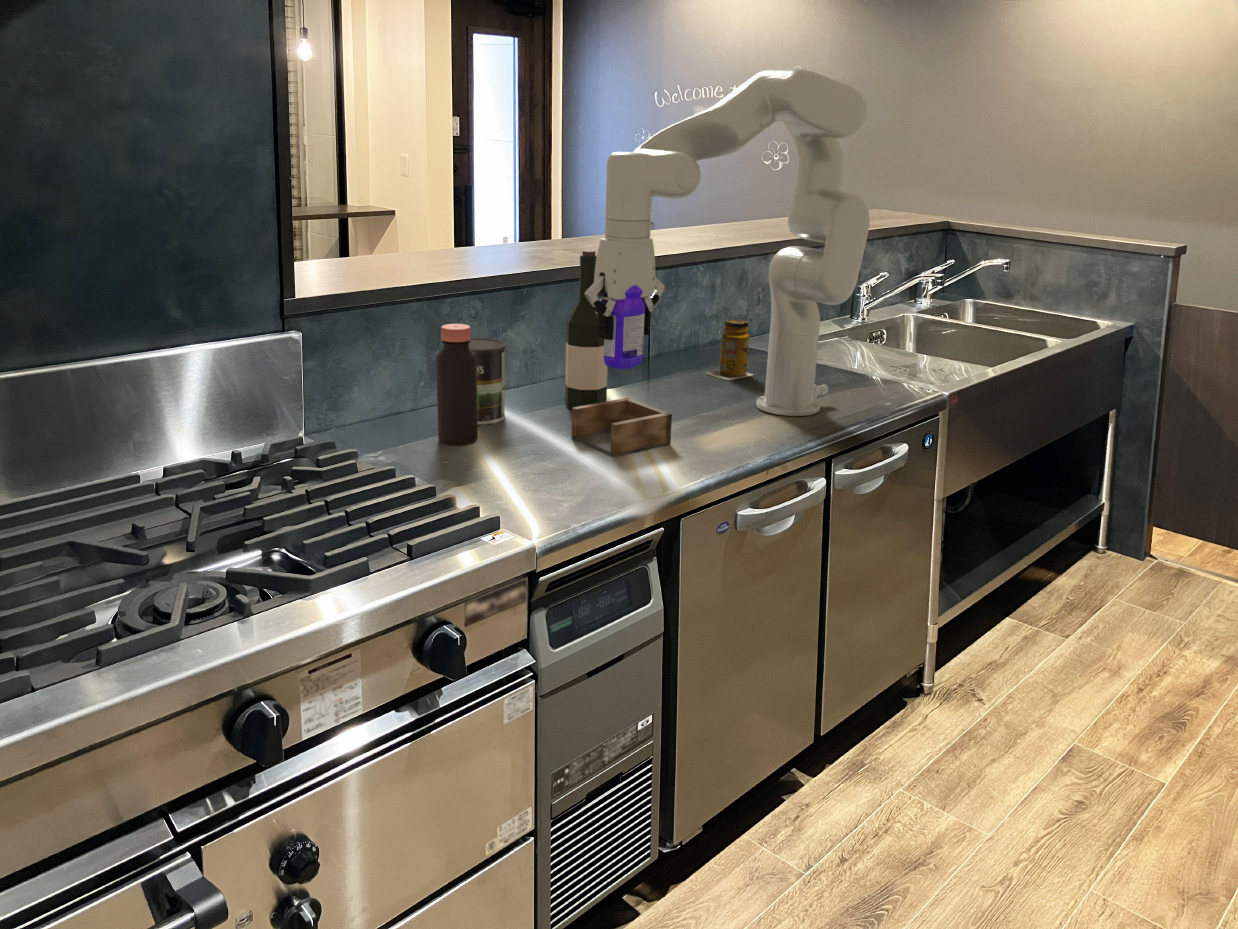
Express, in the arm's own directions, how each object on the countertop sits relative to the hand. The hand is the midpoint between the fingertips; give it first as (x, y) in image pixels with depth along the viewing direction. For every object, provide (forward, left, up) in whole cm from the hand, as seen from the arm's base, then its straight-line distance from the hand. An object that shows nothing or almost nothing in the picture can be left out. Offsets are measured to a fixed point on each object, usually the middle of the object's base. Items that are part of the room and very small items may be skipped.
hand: (624, 335), depth 177 cm
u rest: (0, 0, -19) cm, 19 cm away
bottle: (0, 0, -6) cm, 6 cm away
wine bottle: (-9, -22, -19) cm, 30 cm away
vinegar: (+23, -16, -19) cm, 34 cm away
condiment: (-51, -25, -19) cm, 60 cm away
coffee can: (+13, -26, -19) cm, 35 cm away
